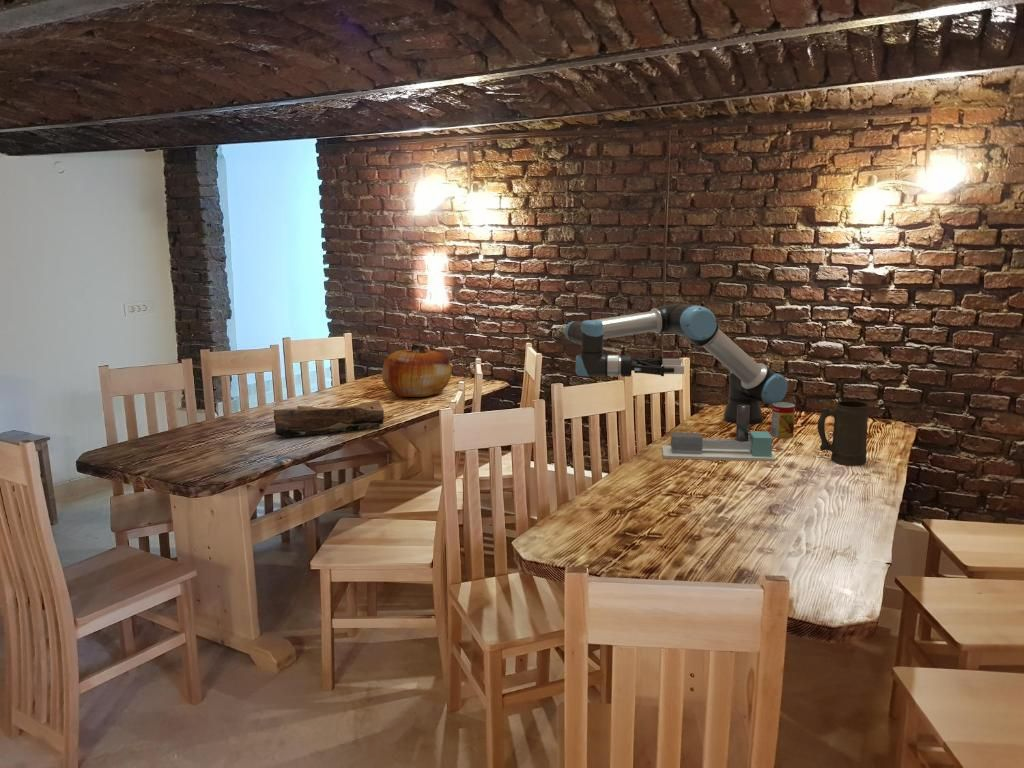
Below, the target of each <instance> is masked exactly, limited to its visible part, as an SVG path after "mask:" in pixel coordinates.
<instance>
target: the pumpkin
mask: <svg viewBox="0 0 1024 768" xmlns="http://www.w3.org/2000/svg"><path fill="white" fill-rule="evenodd" d="M452 371H453V370H452V365H451V362H450V360H449V358H448V357H447V356H446V355H445V354H443V353H442V352H440V351H437V350H432V349H430V350H429V349H426V348H425V345H423V344H422V343H413V344H412V346H411V349H403V350H402V349H400V350H395V351H393V352H391V353H390V354H389V355H387V356H386V358H385V359H384V362H383V365H382V371H381V375H382V382H383V383H384V385H385V387H386V389H387V390H389V392H391V393H393V394H394V395H396V396H397V397H405V398H408V397H412V398H417V397H418V398H422V397H429V396H432V395H436V394H439V393H441V392H442V391H443V390H444V389H445V388H446V387H447V385H448V384H449V381H450V380H451V375H452Z"/></svg>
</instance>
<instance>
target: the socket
mask: <svg viewBox="0 0 1024 768" xmlns="http://www.w3.org/2000/svg"><path fill="white" fill-rule="evenodd" d="M749 439H752V440H753V442H752V450H750V452H751V454H752V456H761V457H771V454H773V452H772V450H773V437H772V436H771V433H770V432H769V431H760V430H759V431H752V430H751V431H749Z"/></svg>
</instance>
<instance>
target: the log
mask: <svg viewBox="0 0 1024 768" xmlns="http://www.w3.org/2000/svg"><path fill="white" fill-rule="evenodd" d="M384 413H385V410H384V408H383V406H382V405H381V402H380V400H378V399H377V400H373V401H367V402H361V403H359V404H355V405H350V406H340V407H339V406H338V407H330V408H329V407H327V408H326V407H325V408H323V407H315V406H307V405H297V406H296V408H288V409H287V408H286V409H283V408H282V409H273V422H274V427H275V428H274V430H275V435H279V436H284V437H288V438H294V437H296V436H315V435H322V434H333V433H334V434H335V433H345V432H346V433H348V432H357V431H359V432H360V431H365V430H368V429H370V428H373V427H377V426H380V425H383V424H384V418H385V414H384Z"/></svg>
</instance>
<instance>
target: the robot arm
mask: <svg viewBox="0 0 1024 768" xmlns="http://www.w3.org/2000/svg"><path fill="white" fill-rule="evenodd" d="M652 332H653V333H655V334H674V335H677V336H681V337H683V338H686V340H688V341H689V342H690V343H691V344H692V345H694V347H697V348H701V347H702V348H704V349H705V350H706V351H707V352H708V353H709V354H711V356H713V357H714V358H715V360H717V361H719V362H720V363H721V364H722V365H723V366H725V368H726V369H728V371H729V386H728V389H729V390H728V402H727V405H726V407H725V411H724V412H723V421H725V422H726V423H730V424H734V425H737V405H741V404H744V405H749V406H750V414H749V426H750V425H758V424H759V425H760V424H761V423H763V421H764V415H763V413H762V409H761V404H760V402H763V403H764V404H766V405H773V403H777V402H782V400H783V399H784V398H785V397H786V396H787V395H786V394H787V392H788V381H787V379H786V377H785V376H783V375H781V374H780V373H775V372H774V371H773V370H771V368H769V366H767V365H766V364H764V363H761V362H760V363H757V362H756V361H755V359H753V358H752V357H751V356H750V355H749V354H747V352H745V351H744V350H743V349H742V348H741V347H740V346H739V345H737V344H736V343H735V342H734V341H733V340H732V339H731V338H730V337H729V336H727V335H726V334H725V333H724V332H723V331H722V330H721V329H720V323H719V322H718V321H717V319H716V316H715V314H714V313H713V312H712V310H710V309H708V308H707V307H705V306H701V305H691V304H686V303H674V304H669V305H664V306H659V307H653V308H651V309H650V311H643V312H637V313H631V314H626V315H625V314H624V315H618V316H612V317H610V316H609V317H603V318H599V319H598V318H597V319H587V320H583V321H577V320H575V321H570V322H568V323H567V324H566V325H565V327H564V336H565V338H566V339H567V340H568V341H570V342H571V343H573V344H578V345H581V352H580V354H577V355H575V374H576V375H577V376H579V377H610V378H611V379H612V378H614V377H619V376H620V377H626V378H627V377H628V378H630V377H632V373H635V374H648V375H655V376H656V375H657V376H661V377H665V375H685V365H682V358H663V356H659V357H652V358H634V359H633V360H632V355H631V354H622V355H620V354H604V340H605V339H613V338H618V337H619V338H620V337H625V336H633V335H639V334H644V333H645V334H646V333H652Z"/></svg>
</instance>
